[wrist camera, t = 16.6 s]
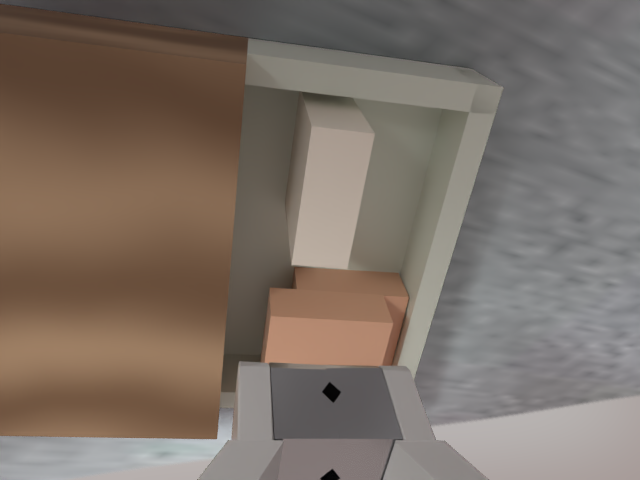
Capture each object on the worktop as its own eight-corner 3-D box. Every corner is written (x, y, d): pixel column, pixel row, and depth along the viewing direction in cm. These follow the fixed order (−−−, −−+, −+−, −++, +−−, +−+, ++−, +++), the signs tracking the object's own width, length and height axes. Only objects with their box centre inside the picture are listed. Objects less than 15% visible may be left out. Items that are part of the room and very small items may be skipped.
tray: (248, 37, 20) (247, 53, 17) (471, 68, 22) (503, 87, 19) (222, 361, 28) (219, 407, 25) (389, 367, 29) (403, 412, 26)
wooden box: (-106, -11, 18) (-220, 4, 14) (248, 37, 20) (246, 64, 16) (-30, 351, 26) (-87, 434, 21) (222, 361, 28) (217, 439, 23)
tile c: (409, 297, 24) (398, 272, 25) (297, 291, 23) (294, 266, 25) (387, 381, 26) (379, 353, 28) (285, 378, 25) (283, 350, 27)
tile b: (269, 287, 23) (270, 316, 21) (382, 294, 23) (393, 323, 22) (258, 375, 25) (258, 408, 23) (361, 379, 26) (369, 411, 24)
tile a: (311, 126, 16) (374, 133, 17) (299, 87, 21) (350, 93, 21) (291, 264, 19) (346, 268, 19) (284, 203, 23) (330, 208, 23)
